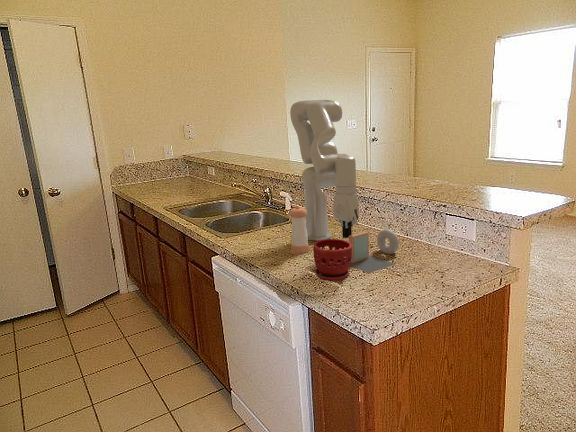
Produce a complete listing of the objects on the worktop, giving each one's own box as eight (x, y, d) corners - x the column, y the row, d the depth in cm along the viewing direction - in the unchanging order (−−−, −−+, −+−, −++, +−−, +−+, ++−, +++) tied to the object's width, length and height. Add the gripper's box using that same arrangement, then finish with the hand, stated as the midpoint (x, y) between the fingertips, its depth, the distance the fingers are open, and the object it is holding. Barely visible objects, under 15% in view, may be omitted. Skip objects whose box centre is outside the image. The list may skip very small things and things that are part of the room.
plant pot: (332, 287, 143) (330, 252, 140) (306, 276, 153) (305, 243, 150) (360, 277, 150) (360, 243, 147) (334, 266, 161) (333, 235, 158)
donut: (375, 252, 174) (374, 227, 171) (381, 250, 176) (381, 225, 173) (394, 258, 166) (394, 232, 163) (400, 256, 168) (401, 231, 165)
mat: (338, 263, 164) (338, 261, 164) (364, 255, 171) (364, 253, 171) (368, 275, 151) (368, 273, 151) (395, 266, 158) (395, 264, 158)
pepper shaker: (307, 255, 174) (305, 208, 170) (289, 255, 176) (287, 208, 171) (310, 249, 181) (308, 204, 176) (293, 249, 183) (290, 204, 178)
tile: (349, 261, 163) (348, 235, 160) (365, 256, 167) (364, 231, 164) (353, 263, 161) (352, 237, 159) (369, 258, 165) (368, 232, 163)
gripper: (325, 188, 167) (327, 235, 172) (351, 194, 155) (352, 243, 159) (340, 186, 171) (341, 231, 176) (367, 190, 159) (368, 239, 163)
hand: (347, 237), depth 167 cm, fingers closed
